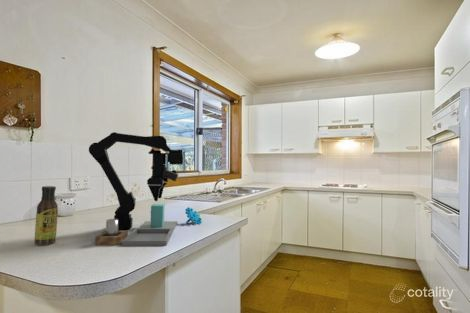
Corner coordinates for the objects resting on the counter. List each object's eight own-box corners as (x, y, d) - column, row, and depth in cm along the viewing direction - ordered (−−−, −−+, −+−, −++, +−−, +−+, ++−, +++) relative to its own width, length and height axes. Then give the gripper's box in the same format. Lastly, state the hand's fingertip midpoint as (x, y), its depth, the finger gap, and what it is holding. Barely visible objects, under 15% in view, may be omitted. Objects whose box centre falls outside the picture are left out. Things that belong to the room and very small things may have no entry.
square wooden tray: (95, 245, 95) (95, 237, 95) (104, 239, 104) (104, 231, 104) (120, 245, 96) (120, 237, 96) (127, 239, 105) (127, 231, 105)
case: (121, 246, 95) (121, 241, 95) (145, 223, 131) (145, 219, 131) (166, 246, 96) (166, 240, 96) (177, 223, 132) (177, 219, 132)
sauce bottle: (42, 247, 93) (44, 187, 93) (30, 244, 95) (32, 186, 95) (60, 242, 99) (62, 186, 99) (48, 240, 101) (50, 185, 101)
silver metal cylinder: (104, 244, 98) (104, 221, 97) (107, 240, 101) (107, 218, 101) (116, 243, 98) (116, 221, 98) (119, 240, 102) (119, 218, 102)
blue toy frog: (195, 223, 126) (183, 206, 130) (186, 231, 127) (175, 214, 131) (207, 222, 136) (196, 206, 140) (198, 230, 137) (188, 214, 141)
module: (150, 226, 120) (151, 206, 120) (152, 224, 125) (153, 204, 125) (162, 226, 121) (162, 206, 121) (163, 224, 126) (164, 204, 126)
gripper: (175, 165, 115) (174, 202, 115) (179, 164, 134) (178, 197, 133) (147, 164, 114) (146, 202, 114) (155, 164, 133) (154, 196, 132)
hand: (158, 199), depth 123 cm, fingers open, 9 cm apart
